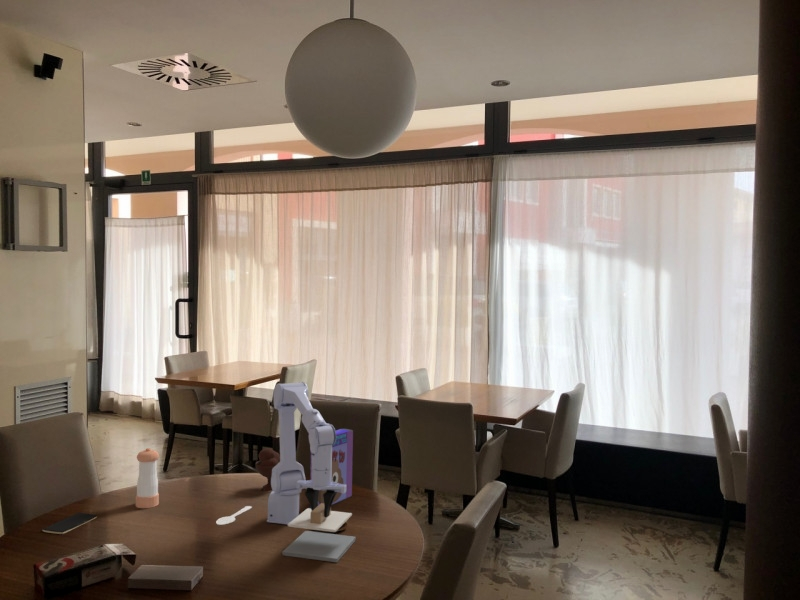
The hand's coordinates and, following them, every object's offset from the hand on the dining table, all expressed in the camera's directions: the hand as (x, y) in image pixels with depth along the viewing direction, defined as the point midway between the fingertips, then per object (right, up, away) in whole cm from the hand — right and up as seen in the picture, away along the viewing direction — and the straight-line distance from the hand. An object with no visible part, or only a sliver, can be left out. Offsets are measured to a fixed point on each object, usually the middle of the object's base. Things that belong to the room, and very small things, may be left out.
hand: (320, 515), depth 178 cm
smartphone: (-79, -8, +14) cm, 81 cm away
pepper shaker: (-63, -8, +33) cm, 71 cm away
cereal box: (-1, -9, +40) cm, 41 cm away
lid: (0, -2, 0) cm, 2 cm away
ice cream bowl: (-26, -9, +53) cm, 60 cm away
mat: (0, -9, 0) cm, 9 cm away
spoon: (-31, -9, +25) cm, 41 cm away
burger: (+1, -10, +15) cm, 18 cm away
